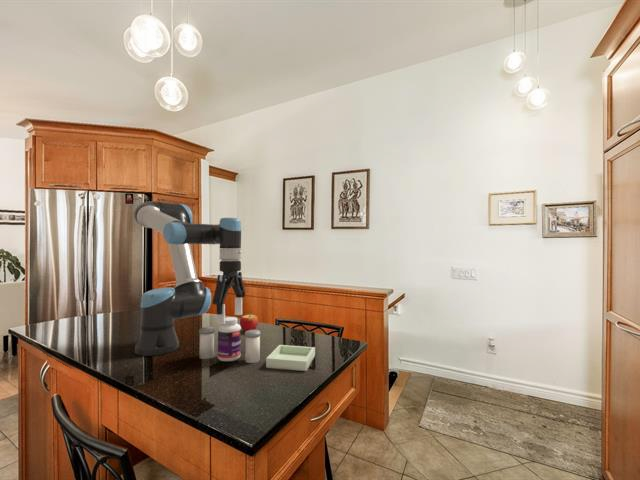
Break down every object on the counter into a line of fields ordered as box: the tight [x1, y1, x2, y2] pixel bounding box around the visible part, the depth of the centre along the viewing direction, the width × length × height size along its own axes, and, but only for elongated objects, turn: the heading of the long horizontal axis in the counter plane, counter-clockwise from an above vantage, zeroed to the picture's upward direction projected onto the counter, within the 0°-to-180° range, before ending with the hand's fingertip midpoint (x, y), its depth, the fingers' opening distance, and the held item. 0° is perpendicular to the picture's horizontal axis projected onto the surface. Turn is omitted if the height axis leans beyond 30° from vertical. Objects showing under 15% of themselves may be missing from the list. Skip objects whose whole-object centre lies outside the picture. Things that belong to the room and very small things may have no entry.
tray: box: [265, 344, 316, 372], centre depth 109 cm, size 14×14×3 cm
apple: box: [239, 309, 259, 333], centre depth 145 cm, size 8×8×10 cm
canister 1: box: [198, 326, 216, 360], centre depth 113 cm, size 5×5×10 cm
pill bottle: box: [217, 316, 242, 362], centre depth 112 cm, size 8×8×14 cm
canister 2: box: [244, 329, 261, 364], centre depth 110 cm, size 5×5×10 cm
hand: (230, 318), depth 111 cm, fingers open, 13 cm apart
